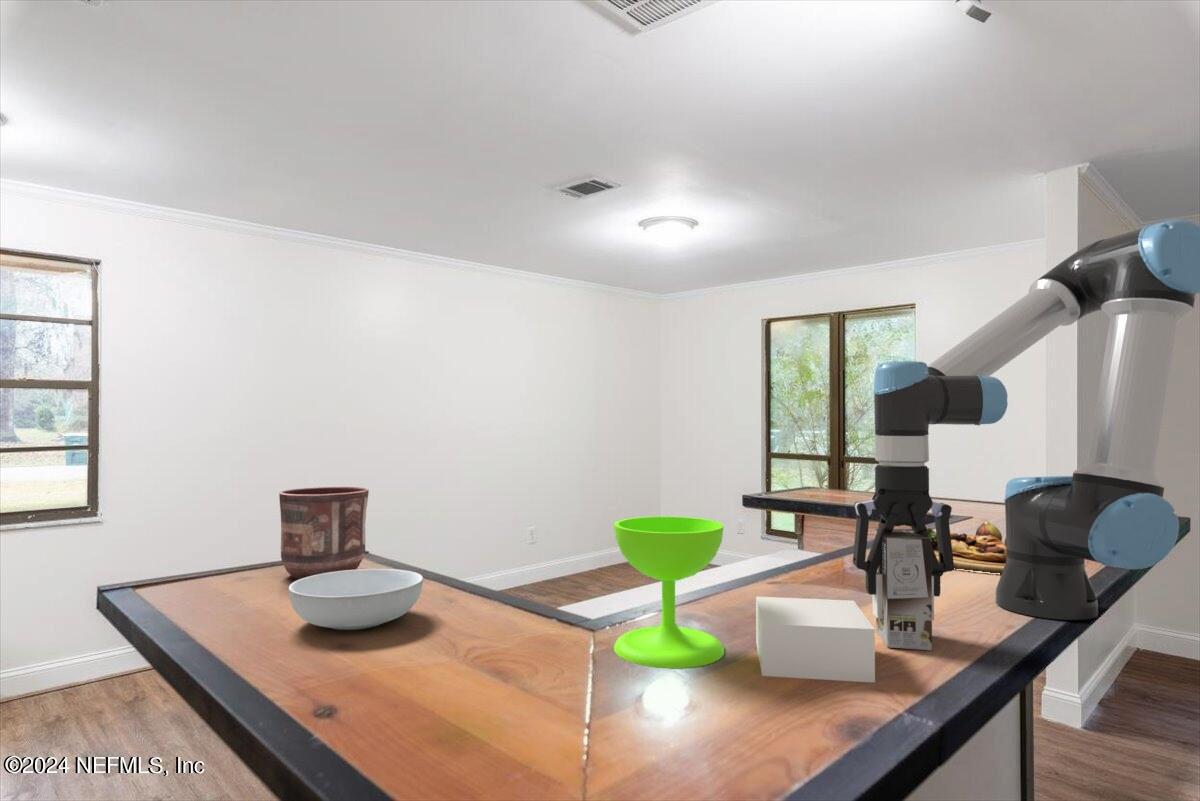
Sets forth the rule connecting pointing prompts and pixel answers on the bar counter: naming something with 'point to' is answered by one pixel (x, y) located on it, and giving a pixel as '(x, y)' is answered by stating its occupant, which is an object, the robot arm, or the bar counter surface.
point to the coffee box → (906, 590)
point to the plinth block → (814, 639)
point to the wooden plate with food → (976, 549)
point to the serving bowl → (355, 597)
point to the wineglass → (668, 587)
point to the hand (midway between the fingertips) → (902, 616)
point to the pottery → (322, 529)
